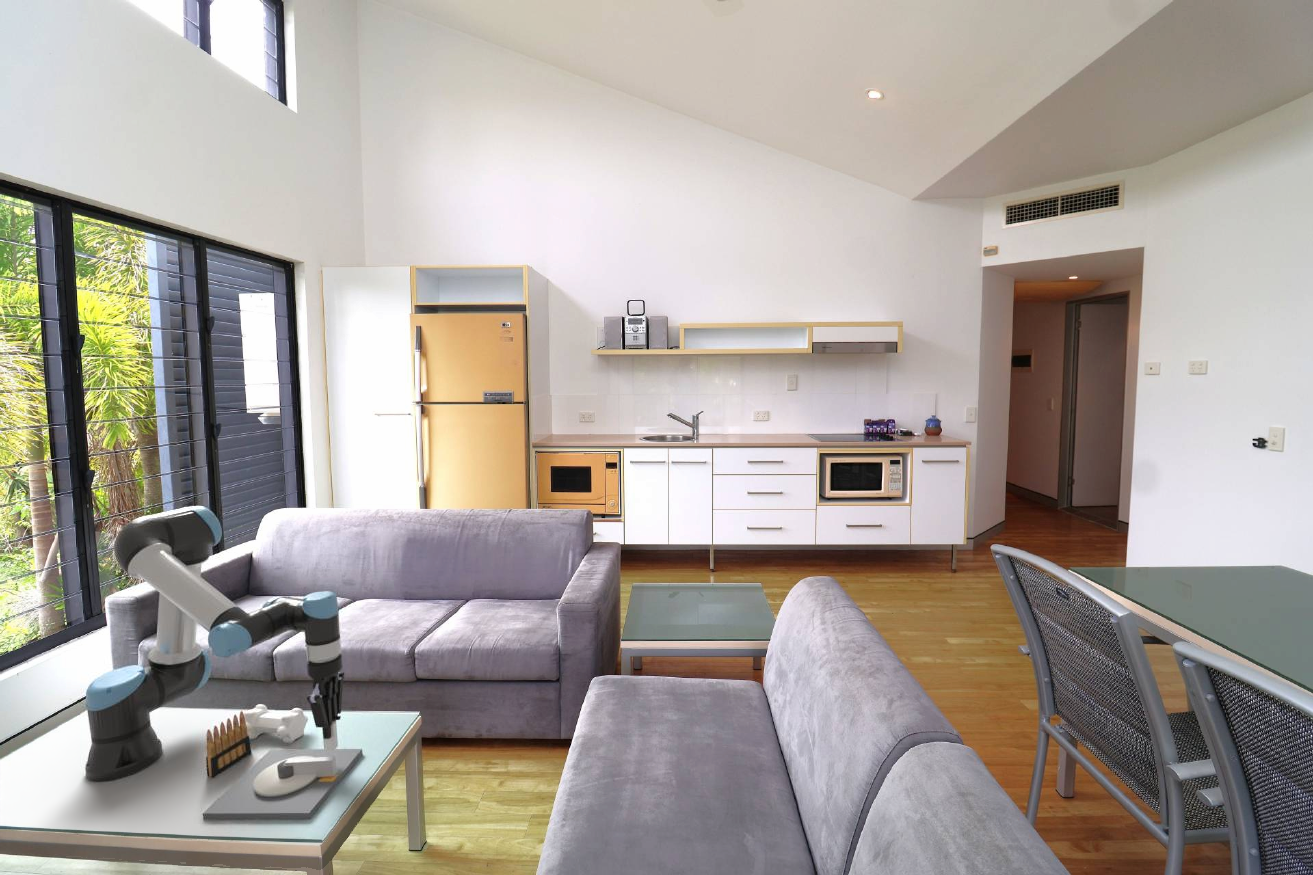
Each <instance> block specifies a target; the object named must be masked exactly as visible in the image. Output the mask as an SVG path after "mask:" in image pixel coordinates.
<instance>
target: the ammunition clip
mask: <svg viewBox="0 0 1313 875" xmlns="http://www.w3.org/2000/svg"><path fill="white" fill-rule="evenodd" d="M244 714H245V713H244V712H243V711H242V710H240V713H239V717H238V716H237V714H233V719H232V721H231V719H230V718H227V719H226V726H225V724H224V722H223V721H221V722H220V727H219V728H218V726H217V725H214V727H213V732H211V730H210V729H207V731H206V747H205V748H206V756H205V763H206V777H207V778H211V779H215V778H216V777H217V776H219V775H220V774H222V773H224V772H225V771H226V770H228V769H230V768H231V767H233V766H235V765H236V764H238V763H239V762H241V761H242V760H244V759H246V758H247V757H249V756H250V755H251V753H252V748H251V747H252V746H251V739H249V735H248V733H247V726H246V722H245V715H244ZM212 734H213V735H212ZM248 755H249V756H248ZM237 762H238V763H237Z"/></svg>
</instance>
